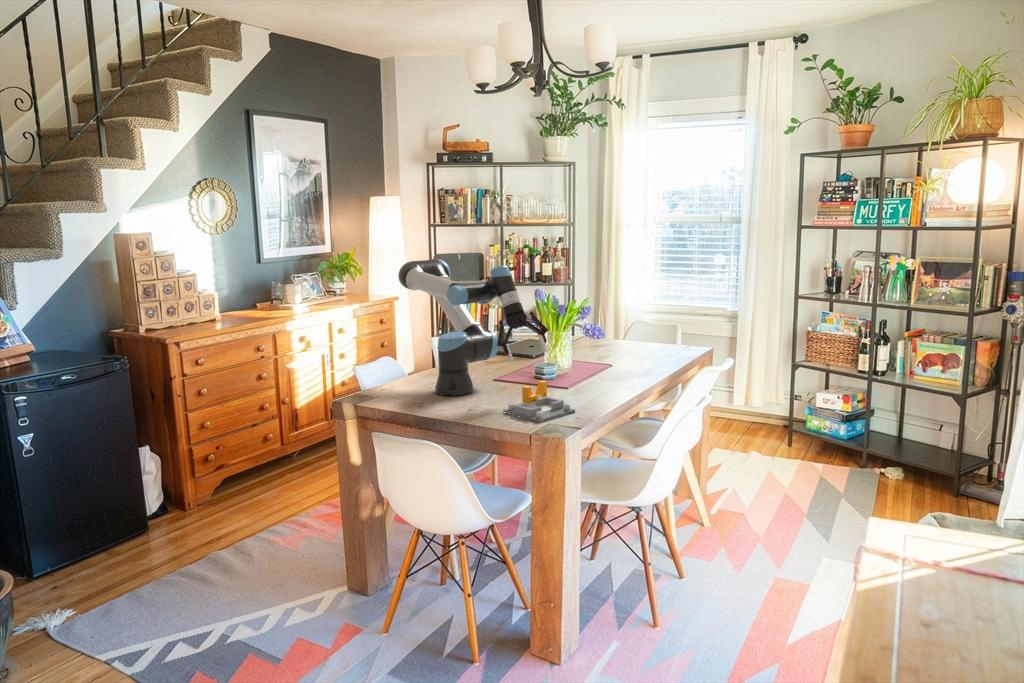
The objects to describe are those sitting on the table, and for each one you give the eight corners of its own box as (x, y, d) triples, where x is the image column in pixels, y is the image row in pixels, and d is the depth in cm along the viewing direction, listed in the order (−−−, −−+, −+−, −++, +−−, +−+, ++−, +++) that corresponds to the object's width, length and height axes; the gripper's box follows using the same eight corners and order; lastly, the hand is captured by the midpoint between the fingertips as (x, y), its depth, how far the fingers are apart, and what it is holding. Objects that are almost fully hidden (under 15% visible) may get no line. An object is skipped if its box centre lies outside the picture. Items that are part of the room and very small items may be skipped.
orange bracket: (531, 405, 268) (531, 388, 266) (522, 403, 270) (522, 386, 269) (550, 398, 277) (550, 381, 276) (541, 396, 280) (541, 380, 278)
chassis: (503, 412, 258) (503, 403, 257) (539, 403, 270) (539, 393, 269) (539, 423, 245) (538, 413, 244) (575, 412, 257) (575, 402, 256)
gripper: (481, 311, 271) (499, 364, 267) (543, 293, 276) (561, 345, 273) (479, 316, 278) (496, 368, 274) (539, 299, 284) (557, 349, 280)
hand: (529, 357), depth 274 cm, fingers open, 13 cm apart
